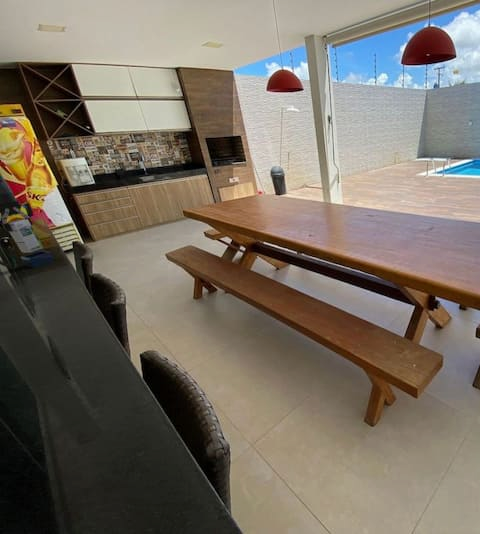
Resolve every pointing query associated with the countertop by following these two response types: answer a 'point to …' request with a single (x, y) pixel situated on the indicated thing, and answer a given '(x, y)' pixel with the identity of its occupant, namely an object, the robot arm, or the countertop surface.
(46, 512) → the countertop surface
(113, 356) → the countertop surface
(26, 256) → the holder
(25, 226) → the syrup box
